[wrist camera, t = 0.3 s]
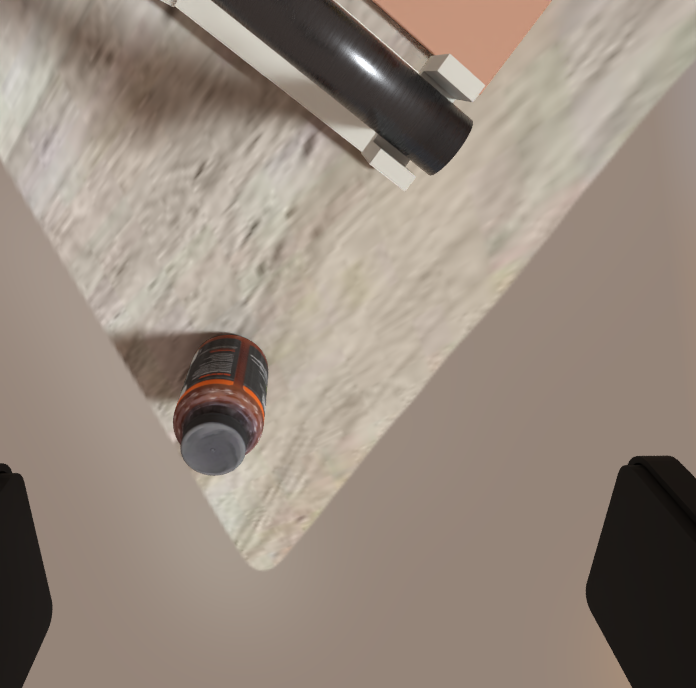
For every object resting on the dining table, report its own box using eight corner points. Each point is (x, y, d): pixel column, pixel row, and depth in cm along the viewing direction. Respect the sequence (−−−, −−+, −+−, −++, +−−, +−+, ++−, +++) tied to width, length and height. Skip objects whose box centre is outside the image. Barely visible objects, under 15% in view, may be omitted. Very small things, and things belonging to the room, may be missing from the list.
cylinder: (123, -70, 24) (100, -88, 21) (160, -143, 23) (142, -172, 20) (422, 169, 29) (435, 180, 26) (462, 117, 28) (480, 122, 25)
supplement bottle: (176, 359, 46) (141, 442, 35) (236, 317, 45) (217, 390, 34) (226, 411, 48) (207, 504, 38) (284, 372, 47) (280, 456, 37)
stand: (152, -13, 35) (55, -69, 21) (204, -110, 34) (137, -241, 19) (385, 169, 41) (431, 220, 27) (440, 94, 39) (521, 106, 25)
